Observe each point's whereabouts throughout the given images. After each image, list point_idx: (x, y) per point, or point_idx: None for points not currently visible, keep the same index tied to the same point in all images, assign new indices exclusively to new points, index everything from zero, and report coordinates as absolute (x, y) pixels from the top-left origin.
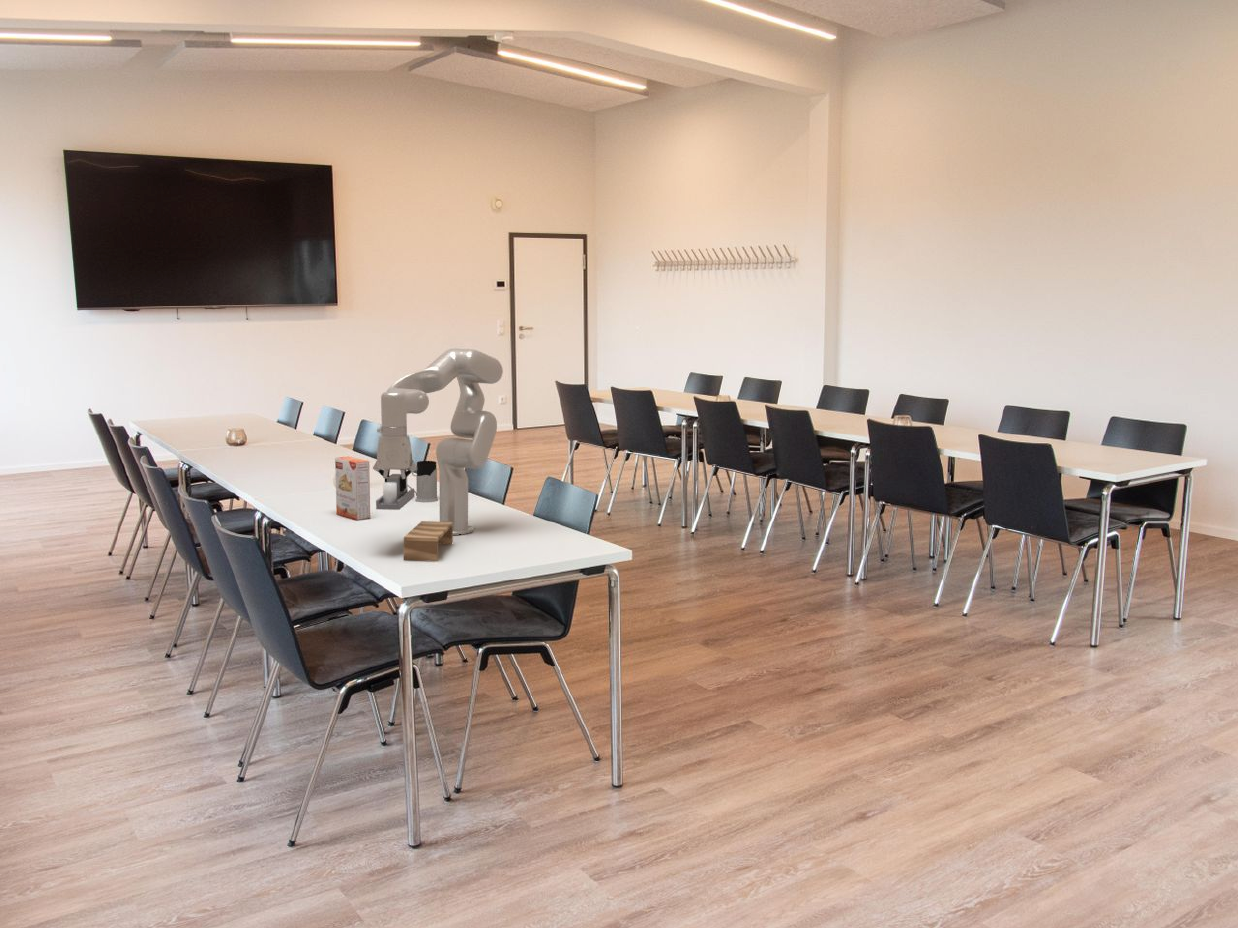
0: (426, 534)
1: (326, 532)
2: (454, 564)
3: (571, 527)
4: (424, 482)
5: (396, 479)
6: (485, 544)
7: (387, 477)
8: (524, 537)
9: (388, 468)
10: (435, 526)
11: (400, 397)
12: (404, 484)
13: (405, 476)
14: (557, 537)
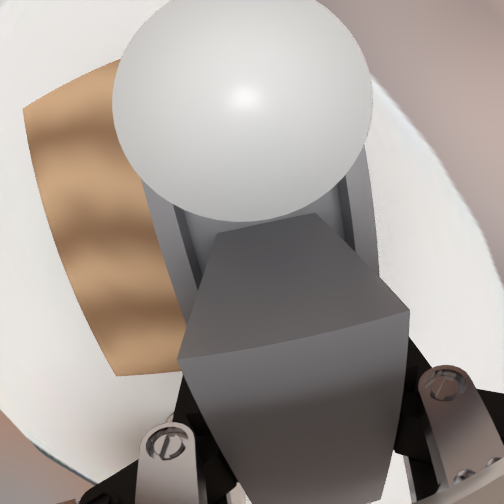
0: (73, 142)
1: (492, 325)
2: (21, 105)
3: (57, 460)
4: None
5: (213, 334)
6: (66, 342)
7: (403, 336)
8: (54, 407)
9: (461, 498)
10: (119, 298)
11: None
12: (185, 386)
13: (142, 453)
14: (20, 408)
